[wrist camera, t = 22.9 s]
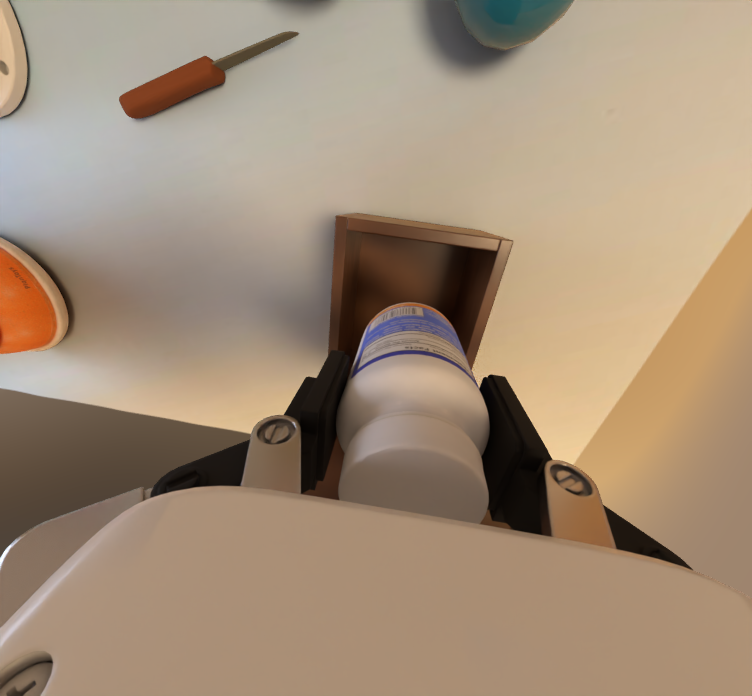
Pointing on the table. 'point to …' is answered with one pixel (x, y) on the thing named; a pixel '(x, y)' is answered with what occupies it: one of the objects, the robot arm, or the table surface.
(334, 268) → the chest
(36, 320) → the stacking toy
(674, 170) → the table surface
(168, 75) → the brown screwdriver
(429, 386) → the pill bottle
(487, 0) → the ball
